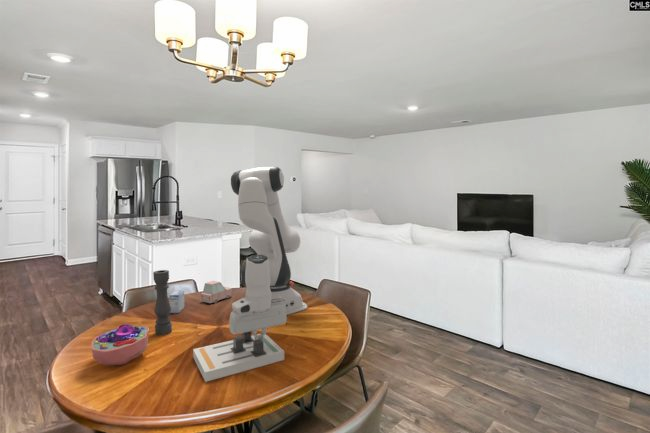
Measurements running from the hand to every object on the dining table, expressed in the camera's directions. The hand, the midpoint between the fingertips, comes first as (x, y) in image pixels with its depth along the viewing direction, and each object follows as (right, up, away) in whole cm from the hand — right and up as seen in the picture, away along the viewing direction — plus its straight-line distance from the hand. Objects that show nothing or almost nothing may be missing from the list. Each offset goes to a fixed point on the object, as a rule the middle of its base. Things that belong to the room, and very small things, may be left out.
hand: (259, 340), depth 123 cm
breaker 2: (+1, -2, -6) cm, 7 cm away
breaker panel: (-7, -5, -3) cm, 9 cm away
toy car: (-33, -1, +61) cm, 69 cm away
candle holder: (-43, -4, +19) cm, 47 cm away
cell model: (-46, -6, -4) cm, 46 cm away
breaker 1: (-5, -1, +4) cm, 7 cm away
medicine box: (-48, -2, +45) cm, 66 cm away
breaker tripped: (-7, -2, -4) cm, 8 cm away
